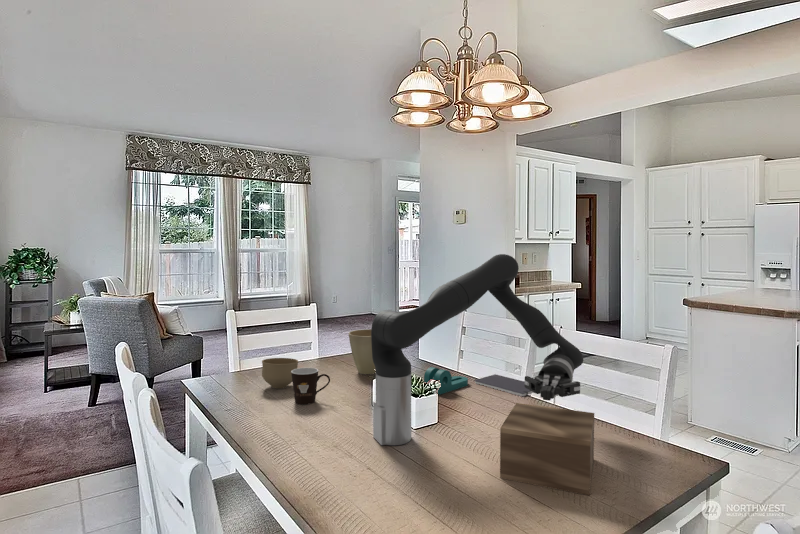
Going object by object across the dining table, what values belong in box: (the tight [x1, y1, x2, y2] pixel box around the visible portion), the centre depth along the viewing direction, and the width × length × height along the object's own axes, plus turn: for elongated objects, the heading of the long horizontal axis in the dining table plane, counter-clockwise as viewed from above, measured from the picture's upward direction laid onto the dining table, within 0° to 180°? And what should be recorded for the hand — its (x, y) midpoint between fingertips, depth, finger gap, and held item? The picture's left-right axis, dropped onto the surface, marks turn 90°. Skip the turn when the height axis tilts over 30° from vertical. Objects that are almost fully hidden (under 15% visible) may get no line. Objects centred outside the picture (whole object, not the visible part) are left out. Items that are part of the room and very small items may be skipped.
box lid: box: [499, 402, 595, 446], centre depth 108 cm, size 18×18×1 cm
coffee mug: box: [291, 367, 331, 406], centre depth 154 cm, size 12×9×10 cm
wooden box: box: [499, 422, 595, 496], centre depth 108 cm, size 18×18×10 cm
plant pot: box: [348, 328, 376, 375], centre depth 190 cm, size 15×15×16 cm
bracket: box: [423, 366, 469, 396], centre depth 170 cm, size 18×7×8 cm, turn 134°
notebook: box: [474, 373, 535, 397], centre depth 172 cm, size 13×2×21 cm
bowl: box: [261, 357, 299, 390], centre depth 171 cm, size 13×13×10 cm
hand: (546, 395), depth 103 cm, fingers closed
